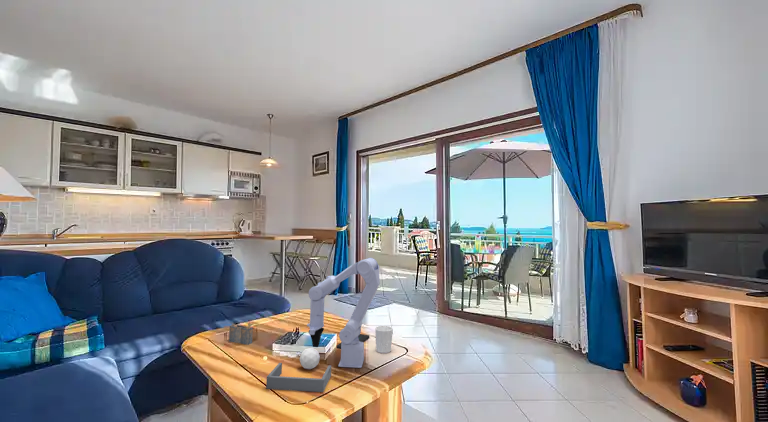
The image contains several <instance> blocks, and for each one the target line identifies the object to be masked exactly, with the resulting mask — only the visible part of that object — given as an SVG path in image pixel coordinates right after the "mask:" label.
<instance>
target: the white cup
mask: <svg viewBox="0 0 768 422" xmlns="http://www.w3.org/2000/svg"><path fill="white" fill-rule="evenodd" d="M374 330H375V331H374V332H375V351H376V352H378V353H380V354H387V353H390V352H392V351H391V350H392V341H393V331H394V330H393V327H392V326H389V325H378V326H376V327H375V329H374Z"/></svg>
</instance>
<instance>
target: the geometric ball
mask: <svg viewBox="0 0 768 422" xmlns="http://www.w3.org/2000/svg"><path fill="white" fill-rule="evenodd" d="M320 358H321V357H320V352H319V351H318V350H317V349H316V348H315V347H307V348H305V349H303V351H302V352H301V354H300V356H299V362H300V365H301V366H302V367H303V369H304V370H311V369H314V368H317V366H318V364H319V363H320Z"/></svg>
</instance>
